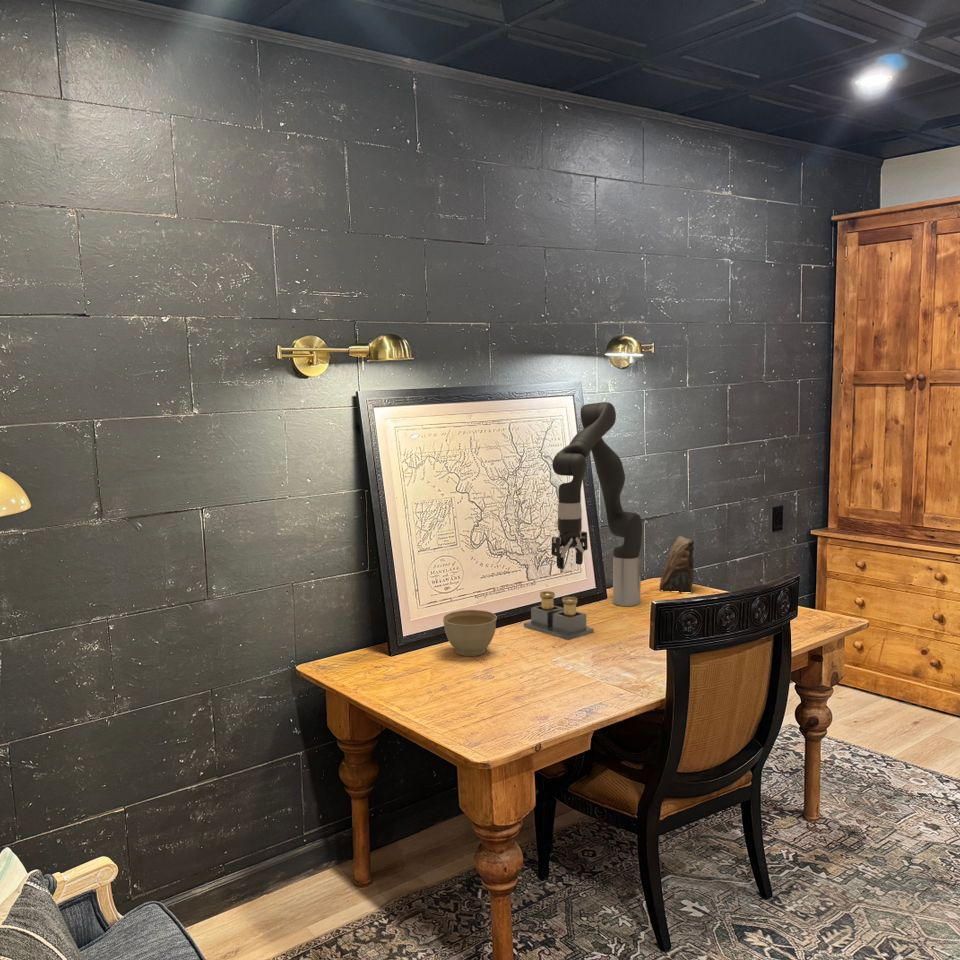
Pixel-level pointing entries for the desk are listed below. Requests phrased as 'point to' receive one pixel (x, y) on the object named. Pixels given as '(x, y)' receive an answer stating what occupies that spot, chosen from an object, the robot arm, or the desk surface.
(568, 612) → the brass stub
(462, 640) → the planter bowl
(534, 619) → the grey double holder
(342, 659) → the desk surface
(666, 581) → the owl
